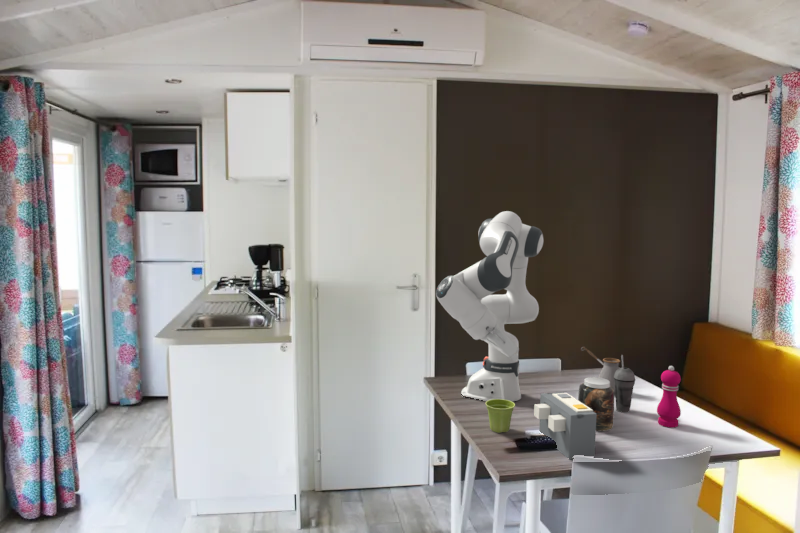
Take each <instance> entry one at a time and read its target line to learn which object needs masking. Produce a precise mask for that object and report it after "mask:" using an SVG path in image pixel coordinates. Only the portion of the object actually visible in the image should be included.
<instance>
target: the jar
mask: <svg viewBox="0 0 800 533" xmlns="http://www.w3.org/2000/svg"><path fill="white" fill-rule="evenodd" d="M583 381H584V382H583V383H580V385H579V387H578V395H577V396H578V397H577V400H578V401H580V402H581V403H583V404H585V405H586V406H588V407H589V408H591V409H592V410H593V412H595V413H596V414H597V416H596V432H605V431H610V430H612V429H613V428H614V420H615V419H614V416H615V415H614V414H615V399H616V398H615V392H614V388H613V387H612V386H610V381H609V380H607V379H604V378H599V377H597V376H589V377H585V378H584V380H583Z"/></svg>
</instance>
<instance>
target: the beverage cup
mask: <svg viewBox="0 0 800 533" xmlns="http://www.w3.org/2000/svg"><path fill="white" fill-rule="evenodd" d="M620 357H621V367H619V369H618V370H617V371H616V372H615V375H614V383H615V398H614V399H615V410H616V411H617V412H619V413H625V414H627V413H630V410H631V405H632V399H633V391H634V386H635V382H636V375H635V373H634V371H633V370H632V369H630V368H629V367H625V365H624V363H625V362H624V355H623V354H621V356H620Z"/></svg>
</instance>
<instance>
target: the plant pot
mask: <svg viewBox="0 0 800 533" xmlns="http://www.w3.org/2000/svg"><path fill="white" fill-rule="evenodd" d="M485 406H486V410H487V414H488V421H489V430H490V431H492V432H493V433H494V432H495V433H497V434H501V433H507V432H509V431H510V428H511V422H512V421H511V420H512V416H513V412H514V408H515V407H516V403H515V402H514V401H513V402H512V401H509V400H504V399H492V400H488V401H485Z"/></svg>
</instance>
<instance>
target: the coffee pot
mask: <svg viewBox="0 0 800 533" xmlns="http://www.w3.org/2000/svg"><path fill="white" fill-rule="evenodd" d="M580 351H581V352H582V351H585V352H587V353H588V354H589V356H591V357H592V358H593V359H595V360H596V361H598V362H599V363H600V364H601V365H602V366H603V367H602V369H601V371H600V373H599V374H598V377H599V378H604V379H607V380H609V381H610V386H612V387H613V388H614V392H615V383H614V375H615V372H616V371H617V370H618V369H619V368H620V367H619V366H620V363H621V360H620V359H618V358H615V357H605V358H603V359H602V360H601V359H600V358H599V357H597V356H596V355H595V353H593V352H592V351H591V350H589V349H588V348H586V346H582V347H581V348H580Z"/></svg>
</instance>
